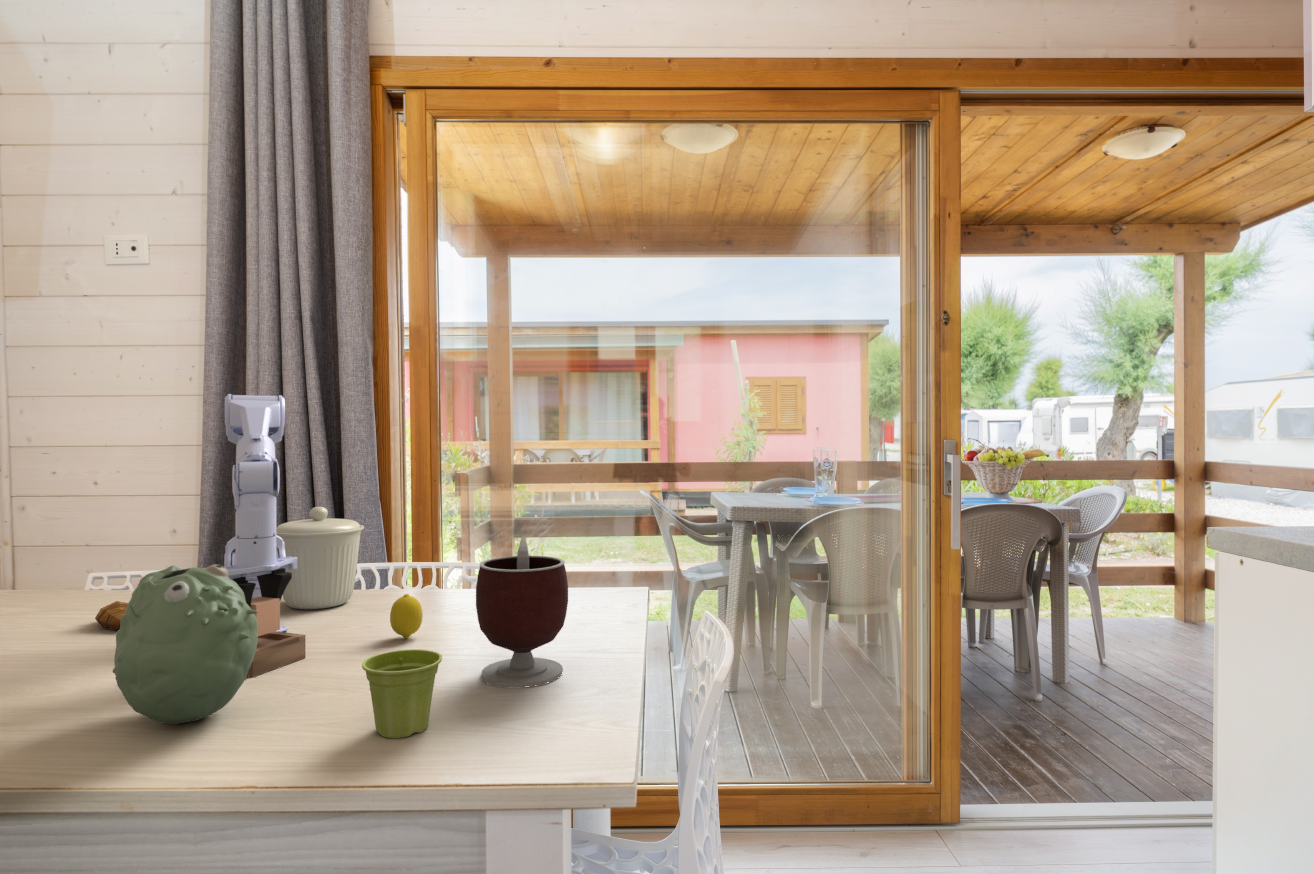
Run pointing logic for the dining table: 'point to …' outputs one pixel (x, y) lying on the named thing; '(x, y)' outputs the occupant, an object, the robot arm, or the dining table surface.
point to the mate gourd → (521, 614)
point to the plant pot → (401, 690)
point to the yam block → (266, 614)
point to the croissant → (111, 615)
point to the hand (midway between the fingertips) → (256, 621)
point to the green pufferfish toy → (184, 644)
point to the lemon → (406, 616)
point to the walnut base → (276, 651)
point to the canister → (321, 559)
